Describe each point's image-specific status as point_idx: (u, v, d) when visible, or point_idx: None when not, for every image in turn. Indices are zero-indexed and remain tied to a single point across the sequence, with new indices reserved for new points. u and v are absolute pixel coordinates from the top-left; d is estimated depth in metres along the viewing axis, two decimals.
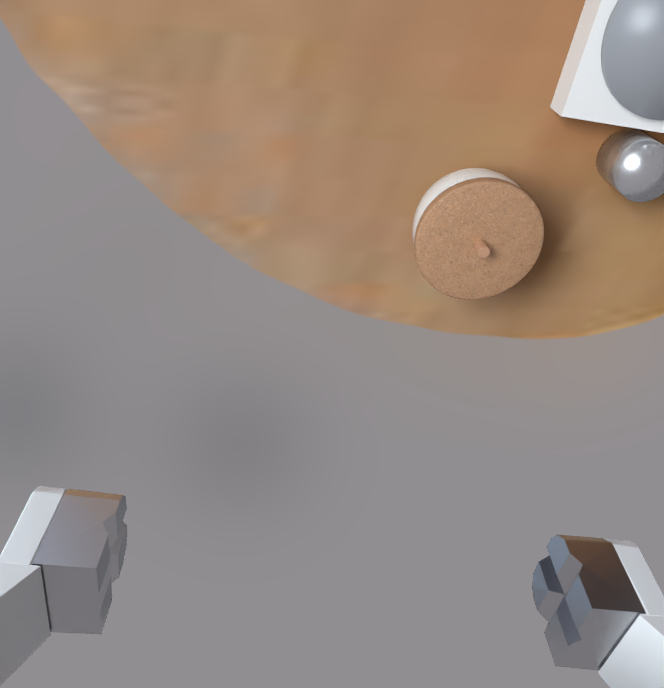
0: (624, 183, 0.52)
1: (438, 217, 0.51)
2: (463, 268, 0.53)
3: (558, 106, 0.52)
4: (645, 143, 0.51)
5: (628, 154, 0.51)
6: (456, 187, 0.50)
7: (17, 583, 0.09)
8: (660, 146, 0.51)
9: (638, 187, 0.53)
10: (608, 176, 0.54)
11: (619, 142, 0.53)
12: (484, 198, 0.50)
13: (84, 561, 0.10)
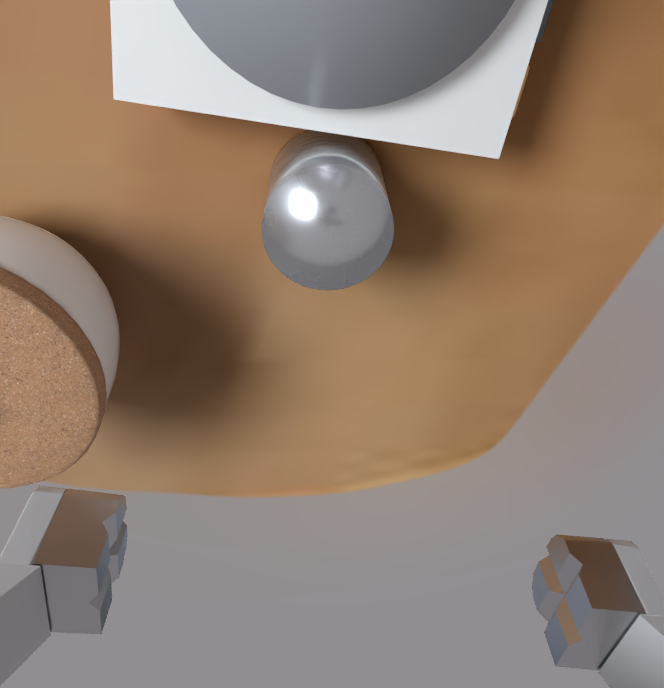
0: (280, 252, 0.23)
1: None
2: None
3: None
4: (312, 162, 0.22)
5: (275, 188, 0.22)
6: None
7: (17, 583, 0.09)
8: (338, 170, 0.22)
9: (315, 260, 0.23)
10: None
11: (284, 157, 0.24)
12: None
13: (84, 561, 0.10)
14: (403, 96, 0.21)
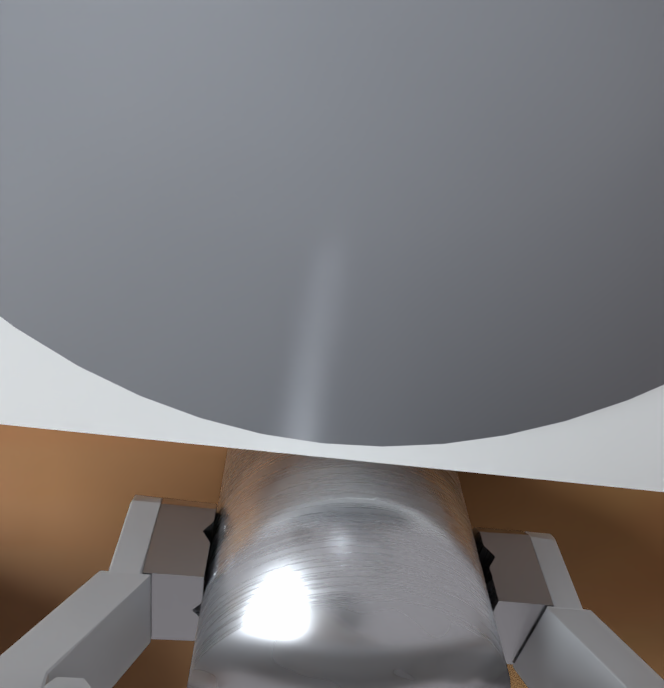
0: None
1: None
2: None
3: None
4: (311, 564, 0.09)
5: (216, 619, 0.09)
6: None
7: (132, 592, 0.09)
8: (380, 610, 0.08)
9: None
10: None
11: (250, 471, 0.11)
12: None
13: (191, 570, 0.10)
14: (555, 419, 0.08)
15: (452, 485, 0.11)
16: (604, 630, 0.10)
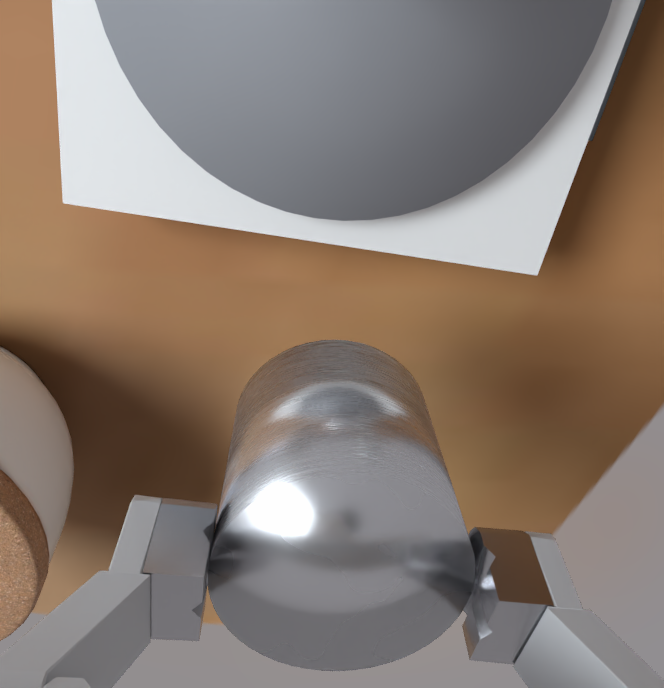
0: (246, 616, 0.12)
1: None
2: None
3: None
4: (311, 454, 0.11)
5: (234, 504, 0.11)
6: None
7: (131, 592, 0.09)
8: (366, 481, 0.10)
9: (316, 626, 0.12)
10: None
11: (257, 409, 0.13)
12: None
13: (191, 570, 0.10)
14: (423, 206, 0.17)
15: (426, 421, 0.13)
16: (605, 630, 0.10)
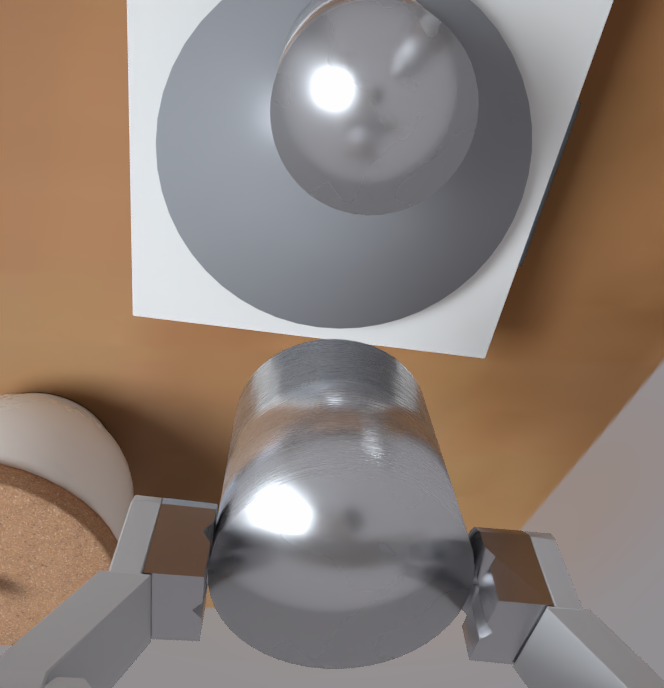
0: (246, 614, 0.12)
1: None
2: None
3: None
4: (310, 453, 0.11)
5: (234, 503, 0.11)
6: None
7: (132, 592, 0.09)
8: (364, 479, 0.10)
9: (317, 624, 0.12)
10: None
11: (257, 408, 0.13)
12: None
13: (191, 570, 0.10)
14: (396, 318, 0.23)
15: (425, 420, 0.13)
16: (604, 630, 0.10)
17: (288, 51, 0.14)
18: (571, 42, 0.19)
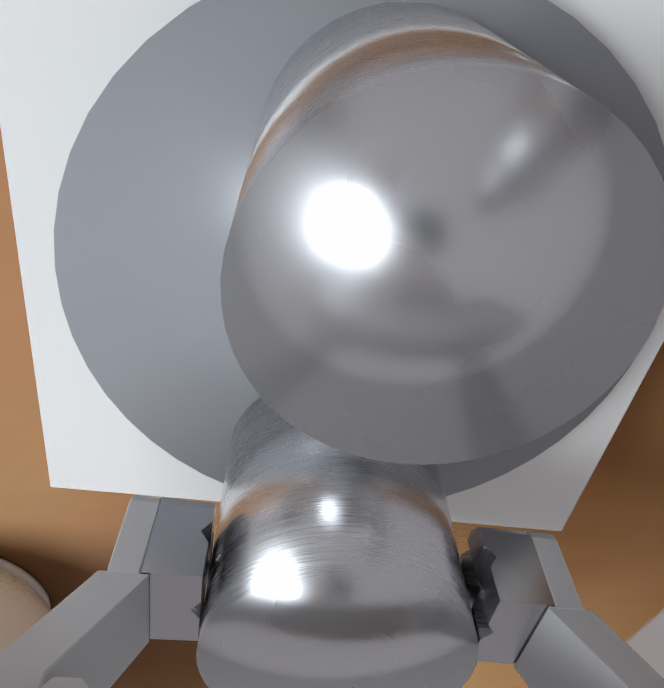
0: None
1: None
2: None
3: None
4: (304, 541, 0.10)
5: (222, 590, 0.10)
6: None
7: (130, 592, 0.09)
8: (363, 580, 0.09)
9: None
10: None
11: (250, 462, 0.12)
12: None
13: (189, 570, 0.10)
14: None
15: (431, 474, 0.12)
16: (605, 630, 0.10)
17: (256, 180, 0.06)
18: None
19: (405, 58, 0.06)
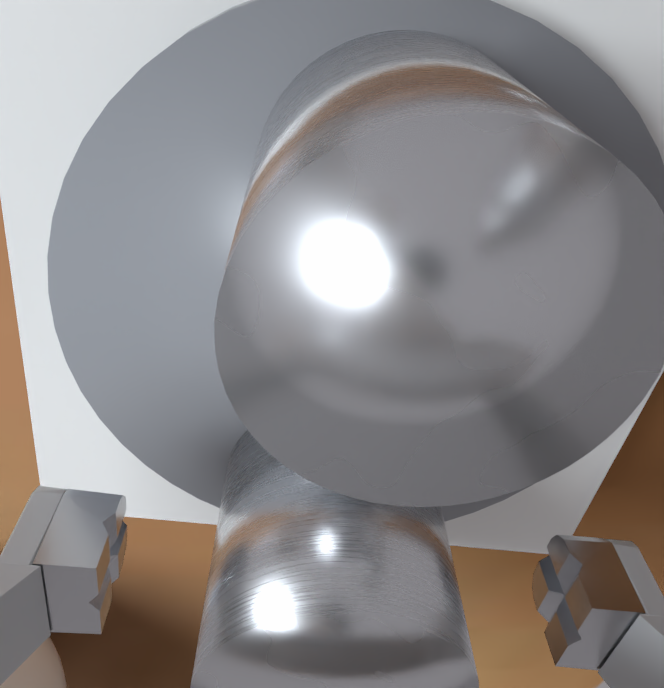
0: None
1: None
2: None
3: None
4: (302, 577, 0.10)
5: (217, 626, 0.10)
6: None
7: (17, 583, 0.09)
8: (361, 620, 0.09)
9: None
10: None
11: (247, 491, 0.12)
12: None
13: (84, 561, 0.10)
14: None
15: None
16: None
17: (251, 225, 0.06)
18: None
19: (405, 102, 0.06)
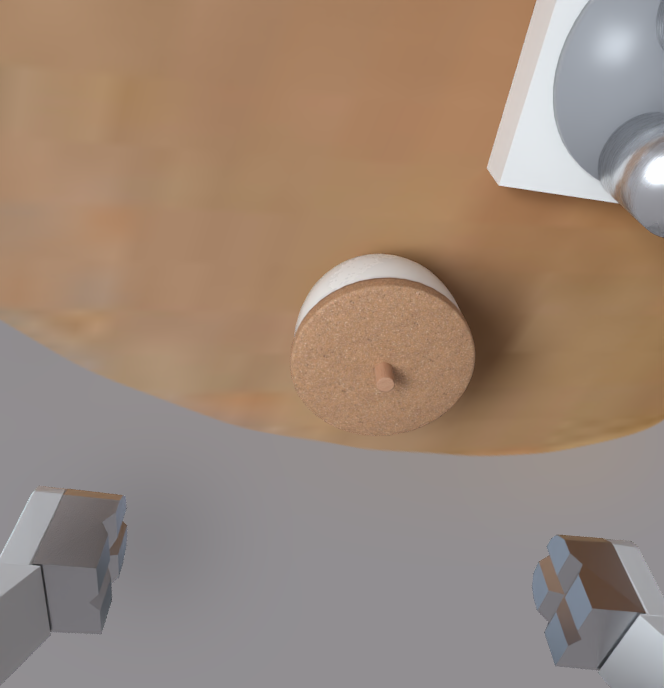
0: (647, 206, 0.30)
1: (319, 334, 0.35)
2: (363, 398, 0.37)
3: (496, 169, 0.36)
4: None
5: (655, 156, 0.29)
6: (341, 292, 0.34)
7: (17, 583, 0.09)
8: None
9: None
10: (618, 193, 0.32)
11: (638, 134, 0.31)
12: (382, 308, 0.34)
13: (84, 561, 0.10)
14: None
15: None
16: None
17: None
18: None
19: None
